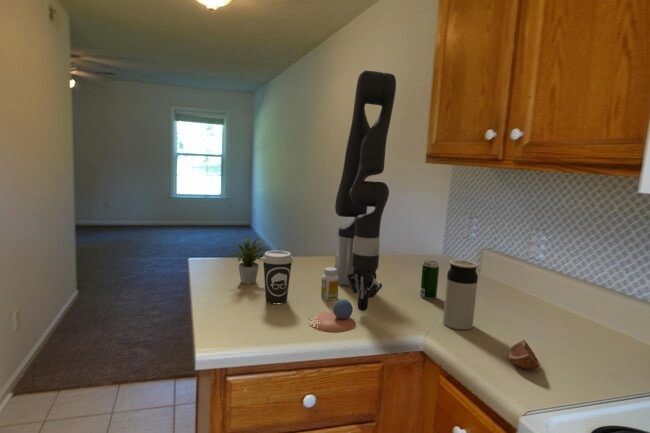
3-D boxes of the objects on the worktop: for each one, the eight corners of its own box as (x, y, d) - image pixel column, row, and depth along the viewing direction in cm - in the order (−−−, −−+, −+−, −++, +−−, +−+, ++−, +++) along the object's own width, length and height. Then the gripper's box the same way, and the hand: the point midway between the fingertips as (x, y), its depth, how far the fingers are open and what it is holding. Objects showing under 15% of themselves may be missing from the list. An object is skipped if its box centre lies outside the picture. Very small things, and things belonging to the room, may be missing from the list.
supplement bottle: (339, 296, 137) (341, 267, 135) (334, 302, 132) (336, 272, 130) (324, 294, 138) (325, 265, 137) (318, 299, 133) (319, 269, 132)
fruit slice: (541, 379, 91) (544, 357, 90) (508, 372, 93) (510, 351, 92) (536, 361, 99) (539, 341, 98) (505, 356, 101) (507, 336, 100)
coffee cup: (297, 299, 133) (299, 252, 131) (281, 308, 124) (283, 259, 122) (271, 293, 137) (272, 248, 134) (254, 302, 128) (255, 254, 126)
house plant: (256, 292, 138) (257, 243, 135) (219, 285, 142) (219, 238, 139) (275, 280, 151) (276, 235, 148) (240, 275, 155) (241, 231, 153)
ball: (348, 299, 122) (343, 318, 122) (332, 295, 120) (327, 314, 119) (358, 304, 117) (353, 323, 117) (342, 300, 115) (336, 319, 114)
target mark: (299, 318, 117) (299, 317, 117) (336, 310, 125) (336, 309, 125) (326, 336, 107) (326, 335, 107) (365, 325, 114) (365, 325, 114)
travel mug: (468, 333, 113) (475, 268, 110) (439, 325, 117) (445, 262, 114) (475, 323, 119) (481, 262, 117) (447, 317, 124) (453, 257, 121)
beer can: (428, 300, 137) (431, 265, 135) (416, 295, 141) (419, 261, 140) (439, 298, 140) (443, 263, 138) (427, 293, 144) (430, 259, 142)
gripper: (392, 255, 116) (387, 315, 119) (360, 245, 127) (357, 300, 129) (371, 258, 112) (367, 320, 115) (341, 248, 123) (338, 304, 125)
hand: (362, 309), depth 122 cm, fingers closed
